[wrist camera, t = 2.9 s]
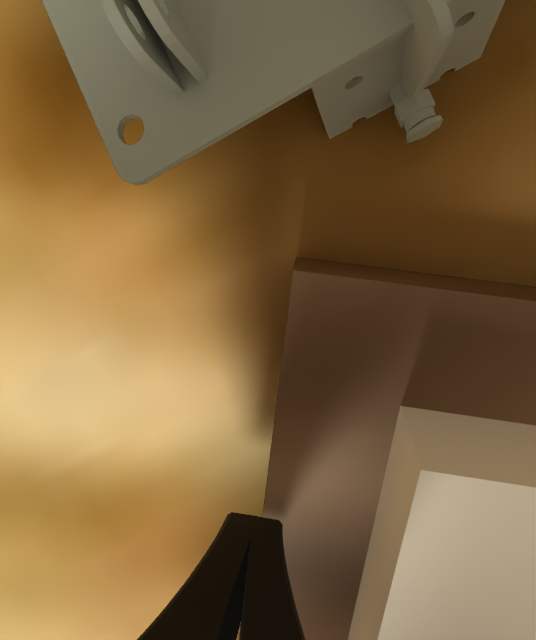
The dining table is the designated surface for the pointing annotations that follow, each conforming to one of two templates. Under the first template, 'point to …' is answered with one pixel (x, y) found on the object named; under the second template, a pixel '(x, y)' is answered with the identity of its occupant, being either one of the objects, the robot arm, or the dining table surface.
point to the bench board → (377, 405)
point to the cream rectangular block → (452, 533)
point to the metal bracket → (258, 65)
